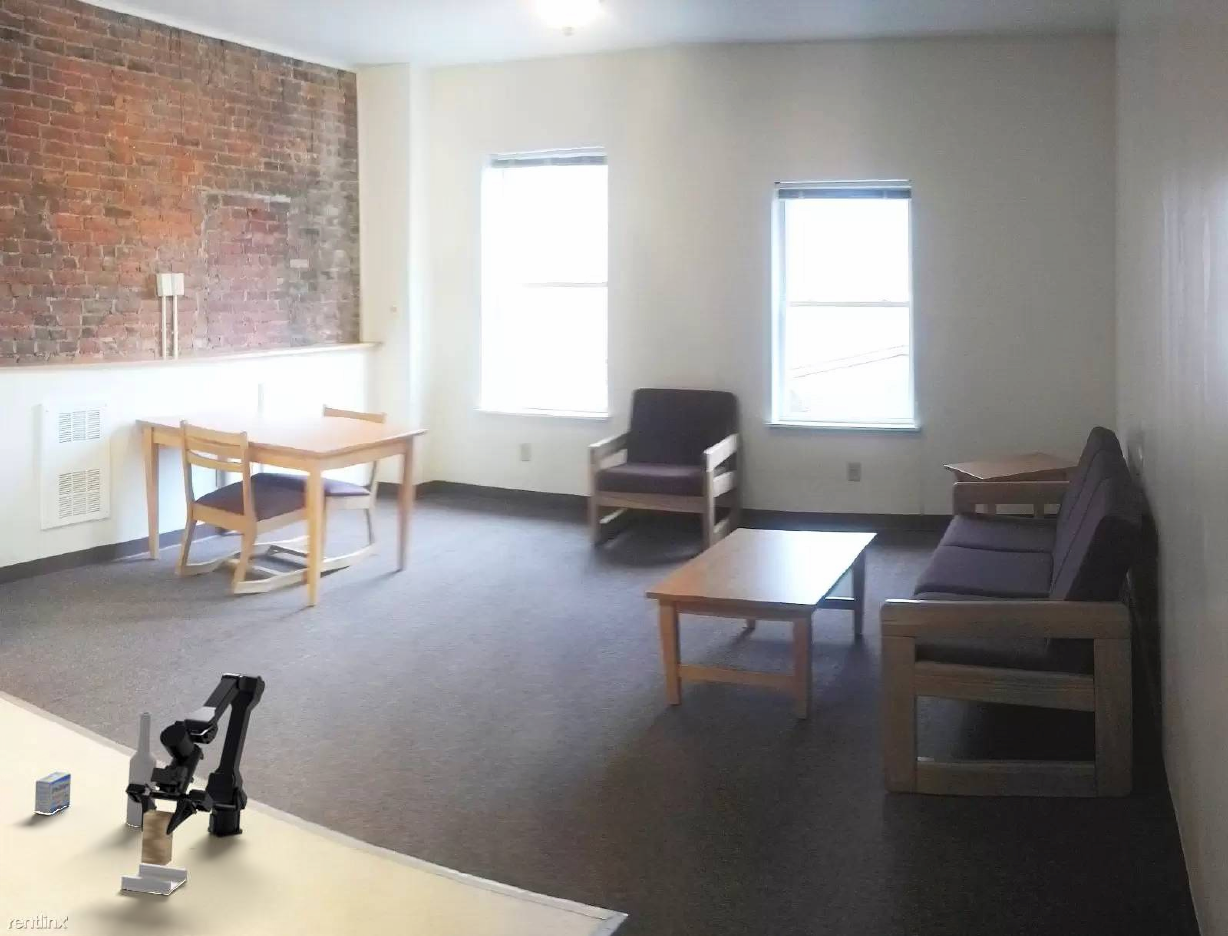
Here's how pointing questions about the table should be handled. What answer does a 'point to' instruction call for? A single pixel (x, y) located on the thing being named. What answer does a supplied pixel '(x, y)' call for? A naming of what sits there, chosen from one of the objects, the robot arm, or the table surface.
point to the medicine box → (52, 792)
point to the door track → (154, 878)
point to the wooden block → (156, 838)
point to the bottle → (141, 768)
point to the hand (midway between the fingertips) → (154, 832)
